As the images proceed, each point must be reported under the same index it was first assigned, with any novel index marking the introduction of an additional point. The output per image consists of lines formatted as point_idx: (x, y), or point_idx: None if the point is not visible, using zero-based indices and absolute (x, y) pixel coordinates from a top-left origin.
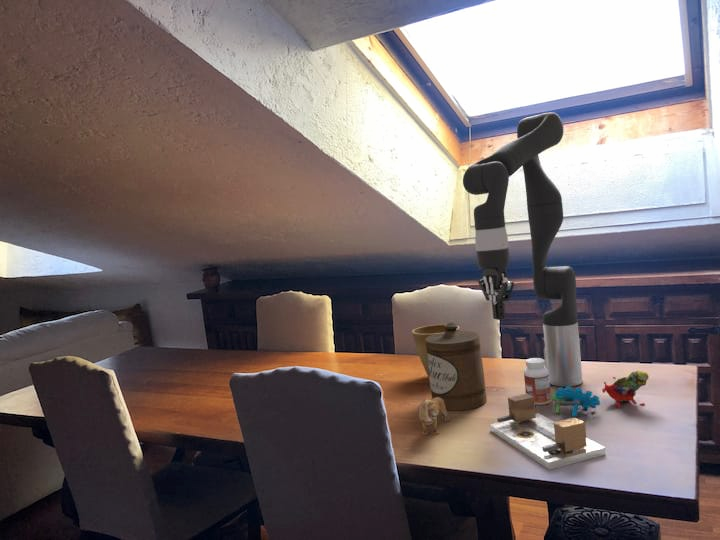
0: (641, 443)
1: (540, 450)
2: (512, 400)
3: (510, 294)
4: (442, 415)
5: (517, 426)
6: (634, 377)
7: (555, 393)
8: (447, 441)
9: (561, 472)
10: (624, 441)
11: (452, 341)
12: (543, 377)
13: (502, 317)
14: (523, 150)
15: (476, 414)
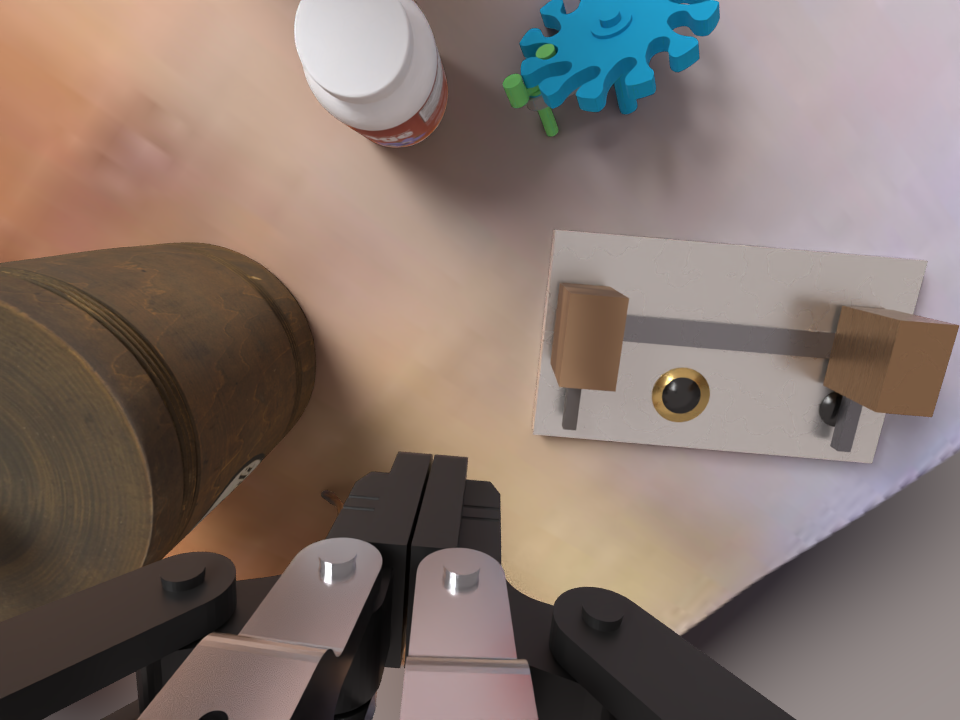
0: (942, 93)
1: (800, 431)
2: (595, 389)
3: (783, 715)
4: (338, 498)
5: None
6: None
7: (552, 107)
8: (518, 568)
9: (889, 437)
10: (892, 127)
11: (100, 553)
12: (436, 66)
13: (467, 481)
14: None
15: (373, 380)
